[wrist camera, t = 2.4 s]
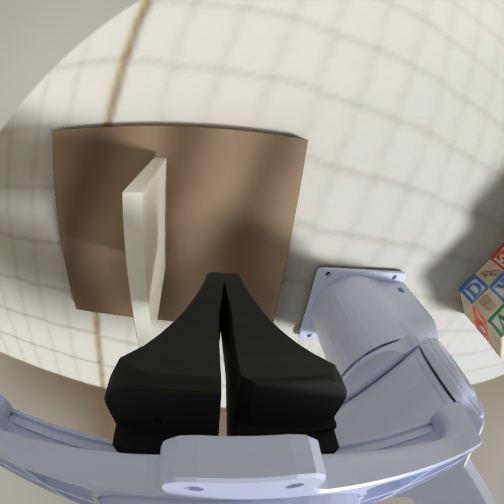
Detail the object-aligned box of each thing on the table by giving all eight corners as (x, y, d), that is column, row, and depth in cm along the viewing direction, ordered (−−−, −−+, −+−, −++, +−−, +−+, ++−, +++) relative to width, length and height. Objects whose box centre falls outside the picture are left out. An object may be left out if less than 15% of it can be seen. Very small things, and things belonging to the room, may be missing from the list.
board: (304, 138, 19) (312, 141, 17) (270, 319, 26) (273, 333, 24) (59, 130, 16) (46, 133, 15) (80, 302, 24) (72, 315, 22)
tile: (142, 192, 10) (119, 192, 10) (154, 347, 13) (137, 346, 13) (166, 158, 17) (152, 157, 17) (165, 267, 20) (153, 267, 20)
